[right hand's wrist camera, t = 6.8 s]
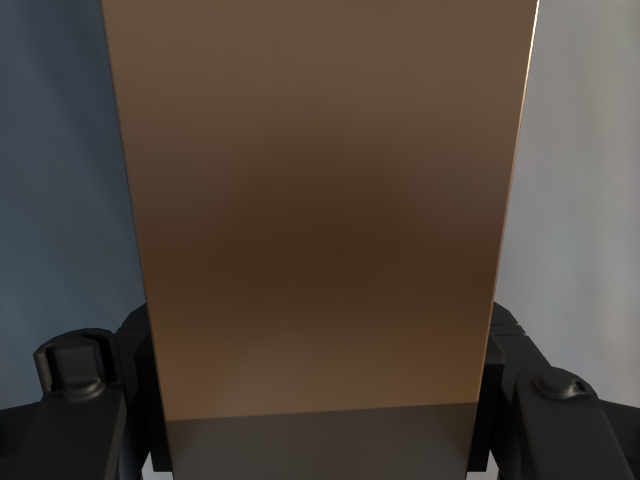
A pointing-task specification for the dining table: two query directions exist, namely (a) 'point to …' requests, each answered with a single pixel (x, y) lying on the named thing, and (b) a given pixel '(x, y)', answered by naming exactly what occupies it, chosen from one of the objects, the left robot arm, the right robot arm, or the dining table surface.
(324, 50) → the beam
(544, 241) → the dining table surface
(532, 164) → the dining table surface
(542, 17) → the dining table surface
